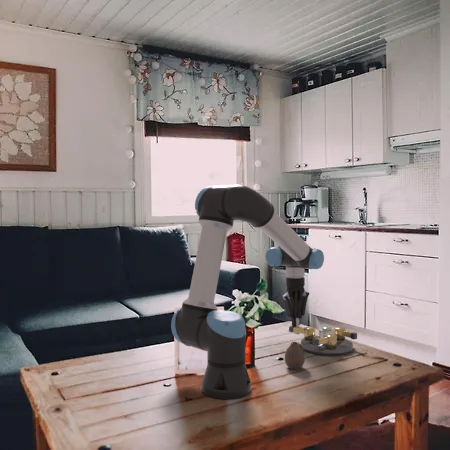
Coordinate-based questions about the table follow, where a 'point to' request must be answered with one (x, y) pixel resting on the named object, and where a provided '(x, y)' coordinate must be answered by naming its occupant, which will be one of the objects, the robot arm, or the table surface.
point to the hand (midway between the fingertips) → (296, 333)
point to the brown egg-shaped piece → (294, 356)
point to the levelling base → (307, 346)
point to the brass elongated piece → (344, 334)
